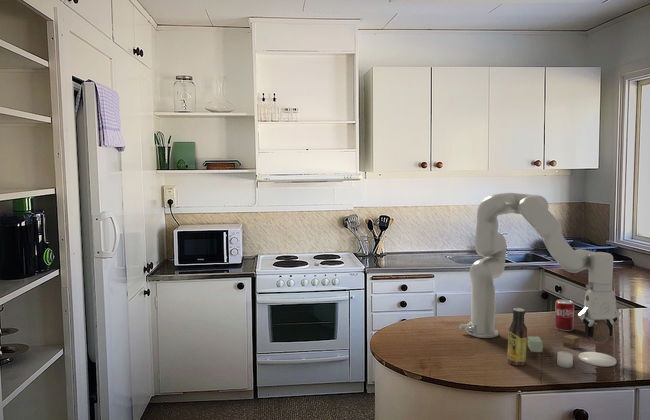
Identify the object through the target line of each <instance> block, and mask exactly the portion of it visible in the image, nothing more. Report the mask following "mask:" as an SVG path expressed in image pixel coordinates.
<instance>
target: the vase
mask: <svg viewBox="0 0 650 420" xmlns="http://www.w3.org/2000/svg"><path fill="white" fill-rule="evenodd" d="M606 323H607V322H606V320H594V321H593V323H592V325H591V326H592V327H593V337H589V339H590V340H591V341H592V342H594V343H597V344H605V343H606V342H607V341H608V340H609V338H610V337H611V336H610V330H609V327H608V325H607V324H606Z"/></svg>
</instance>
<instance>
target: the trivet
mask: <svg viewBox="0 0 650 420" xmlns="http://www.w3.org/2000/svg"><path fill="white" fill-rule="evenodd" d="M578 359H579V360H580V361H581V362H583V363H584V364H585V363H586V364H588V365H592V366H595V367H602V368H603V367H605V368H607V367H608V368H609V367H613V366H616V365H617V359H616V358H614V357H613V356H611V355H609V354H607V353H602V352H596V351H584V352H581V353H579V354H578Z"/></svg>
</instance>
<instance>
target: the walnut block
mask: <svg viewBox="0 0 650 420" xmlns="http://www.w3.org/2000/svg"><path fill="white" fill-rule="evenodd" d="M562 339H563V340H562V346H563V347H564V348H568V349H570V350H574V349H578V348H580V337H579V336H576V335H573V334H567V335H563V337H562Z"/></svg>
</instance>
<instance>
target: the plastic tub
mask: <svg viewBox="0 0 650 420" xmlns="http://www.w3.org/2000/svg"><path fill="white" fill-rule="evenodd" d="M556 354H557V355H556V356H557V358H556V360H557V361H556V364H557V366H559V367H561V368H562V367H563V368H565V369H566V368H567V369H568V368H572V367H573V366H574V363H573V362H574V361H573V360H574V355H573V353H572V352H568V351H563V350H562V351H557V353H556Z"/></svg>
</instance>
